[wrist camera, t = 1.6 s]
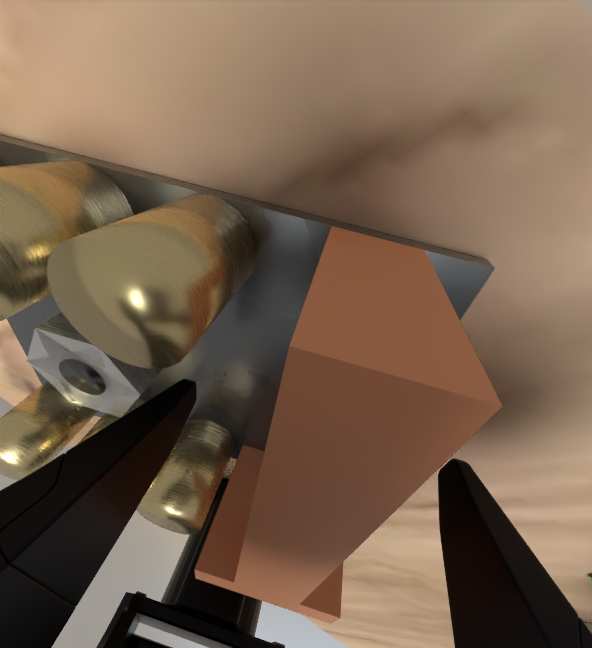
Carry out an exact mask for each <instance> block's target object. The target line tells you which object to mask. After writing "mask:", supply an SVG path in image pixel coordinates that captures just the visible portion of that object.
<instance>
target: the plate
mask: <svg viewBox="0 0 592 648" xmlns="http://www.w3.org/2000/svg"><path fill="white" fill-rule="evenodd" d="M331 226H333V227H337V228H341V229H345V230H349V231H353V232H357V233H361V234H364V235H368V236H372V237H376V238H380V239H384V240H388V241H391V242H395V243H399V244H403V245H407V246H411V247H415V248H419V249H422V250H425V252H426V254H427V256H428V258H429V260H430V262H431V264H432V266H433V268H434V270H435V272H436V274H437V276H438V278H439V280H440V282H441V284H442V286H443V288H444V290H445V292H446V294H447V296H448V298H449V300H450V302H451V304H452V306H453V308H454V310H455V312H456V314H457V316H458V318H459V320H460V319H461V318H462V316H463V315H464V313H465V312H466V310H467V309H468V307H469V306H470V304H471V303H472V301H473V300H474V298H475V297H476V295H477V294H478V293H479V291H480V290H481V288H482V287H483V285H484V284H485V282H486V281H487V279H488V278H489V276H490V275H491V273H492V272H493V270H494V269H495V268H494V267H493V266H492V265H491V264H490V262H489V261H488V260H486V259H482V258H478V257H474V256H470V255H466V254H462V253H459V252H455V251H451V250H447V249H443V248H439V247H435V246H431V245H427V244H424V243H420V242H416V241H412V240H408V239H404V238H400V237H396V236H392V235H389V234H385V233H381V232H377V231H373V230H369V229H365V228H361V227H357V226H354V225H350V224H346V223H342V222H338V221H334V220H330V219H326V218H322V217H318V216H315V215H311V214H307V213H303V212H299V211H295V210H291V209H287V208H283V207H280V206H276V205H272V204H268V203H264V202H260V201H256V200H252V199H248V198H245V197H241V196H237V195H233V194H229V193H225V192H221V191H217V190H213V189H210V188H206V187H202V186H198V185H194V184H190V183H186V182H182V181H178V180H175V179H171V178H167V177H163V176H159V175H155V174H151V173H147V172H143V171H140V170H136V169H132V168H128V167H124V166H120V165H116V164H112V163H108V162H105V161H101V160H97V159H93V158H89V157H85V156H81V155H77V154H73V153H69V152H66V151H62V150H58V149H54V148H50V147H46V146H42V145H38V144H34V143H31V142H27V141H23V140H19V139H15V138H11V137H7V136H3V135H0V321H1V320H4V319H6V318H7V320H8V322H9V324H10V326H11V327H12V329H13V331H14V333H15V335H16V337H17V339H18V341H19V342H20V344H21V346H22V348H23V350H24V352H25V354H26V355H27V357H28V353H29V350H30V346H31V342H32V338H33V334H34V330H35V328H36V327H37V326H39V325H41V324H42V323H44V322H46V321H47V320H49V319H51V318H52V317H54V316H56V315H58V314H59V313H61V312H62V313H63V314H64V316H65V317H66V318H67V320H68V321H69V322H70V323H71V325H72V326H73V327H74V328H75V329H76V330H77V331H78V332H79V333H80V334H81V335H82V336H83V337H84V338H85V339H87V340H88V341H89V342H90V343H92V344H93V345H94V346H96V347H97V348H99V349H100V350H101V351H103V352H105V353H106V354H108V355H110V356H112V357H114V358H116V359H118V360H120V361H122V362H125V363H127V364H130V365H133V366H137V367H141V368H148V369H162V368H163V369H162V370H161V372H160V373H159V374H158V375H157V376H156V377H155V379H154V380H153V381H152V382H151V383H150V385H149V386H148V387H147V388H146V389H145V390H144V392H143V393H142V394H141V395H140V396H139V398H138V399H137V400H136V401H135V402H134V403H133V405H132V406H131V407H130V408H129V409H128V410H127V412H126V413H125V414H124V415H126V414H127V413H129V412H130V411H132V410H134V409H135V408H137V407H138V406H140V405H142V404H143V403H145V402H146V401H148V400H150V399H151V398H153V397H154V396H156V395H158V394H159V393H161V392H162V391H164V390H166V389H167V388H169V387H170V386H172V385H174V384H175V383H177V382H178V381H180V380H182V379H188V380H192V381H195V382H196V390H197V399H196V402H195V405H194V407H193V409H192V411H191V413H190V415H189V417H188V419H187V422H186V424H185V426H184V428H183V430H182V432H181V434H180V436H179V438H178V440H177V442H176V444H175V446H174V448H173V450H172V452H171V453H170V455H169V457H168V458H167V460H166V461H165V463H164V465H163V466H162V468H161V470H160V471H159V473H158V474H157V476H156V478H155V479H154V481H153V483H152V484H151V486H150V487H149V489H148V491H147V492H146V494H145V496H144V497H143V499H142V500H141V502H140V504H139V505H138V507H137V509H136V510H137V511H138V512H139V513H140V514H141V515H142V516H143V517H144V518H146V519H147V520H149V521H150V522H152V523H154V524H156V525H158V526H160V527H162V528H165V529H168V530H171V531H174V532H177V533H182V534H189V535H193V534H198V533H199V532H200V531H201V529H202V526H203V524H204V522H205V519H206V517H207V514H208V512H209V509H210V507H211V504H212V502H213V500H214V497H215V495H216V492H217V490H218V487H219V485H220V483H221V480H222V478H223V475H224V473H225V470H226V468H227V466H228V463H229V461H230V458H234V459H238V457H239V454H240V451H241V449H242V446H243V445H245V446H248V447H252V448H255V449H258V450H261V451H265V448H266V444H267V439H268V435H269V431H270V427H271V422H272V418H273V414H274V409H275V405H276V401H277V397H278V392H279V388H280V384H281V380H282V375H283V371H284V367H285V362H286V358H287V354H288V350H289V345H290V343H291V340H292V337H293V334H294V331H295V328H296V326H297V323H298V320H299V317H300V314H301V311H302V309H303V306H304V303H305V300H306V297H307V294H308V292H309V289H310V286H311V283H312V280H313V277H314V274H315V272H316V269H317V266H318V263H319V260H320V257H321V255H322V252H323V249H324V246H325V243H326V240H327V238H328V235H329V232H330V229H331ZM32 367H33V366H32ZM33 368H34V367H33ZM34 370H35V372H36V374H37V376H38V378H39V380H40V381H41V383H42V386H40V387H39V388H38V389H37V390H35V391H34V392H33V393H31V394H30V395H29V396H28V397H26V398H25V399H24V400H23V401H21V402H20V403H19V404H18V405H16V406H15V407H14V408H12V409H11V410H10V411H9V412H7V413H6V414H5V415H4V416H2V417H1V418H0V474H2V475H4V476H7V477H9V478H12V479H15V480H18V481H19V480H20V479H22V478H24V477H26V476H27V475H29V474H31V473H32V472H34V471H36V470H37V469H39V468H40V467H42V466H44V465H45V464H47V463H49V462H50V461H52V460H53V459H54V458H55V456H57V454H58V453H59V452H60V451H61V450H62V449H63V448H64V447H65V446H66V445H67V444H68V443H69V442H70V441H71V440H72V439H73V438H74V437H75V436H76V434H77V433H78V432H79V431H80V430H81V429H82V428H83V427H84V426H85V425H86V424H87V423H88V422H89V421H90V420H91V419H92V418H93V417H94V416H99V417H102V418H101V419H100V420H99V421H98V422H97V423H96V424H95V426H94V427H93V428H92V429H91V430H90V431H89V432H88V433H87V434H86V435H85V436H84V438H83V439H82V440H81V441H80V442H79V443H81V442H83V441H84V440H86V439H87V438H89V437H90V436H92V435H94V434H95V433H97V432H98V431H100V430H102V429H103V428H105V427H106V426H108V425H110V424H111V423H113V422H114V421H116V420H118V419H119V418H120V417H117V416H114V415H111V414H107V413H104V412H101V411H98V410H94V409H91V408H88V407H85V406H81V405H78V404H75V403H72V402H70V401H69V400H67V399H66V398H65V397H64V396H63V395H62V394H61V393H60V392H59V391H58V390H57V389H56V388H55V387H54V386H53V385H52V384H51V383H50V382H49V381H47V380H46V379H45V378H44V377H43V376H42V375H41V374H40V373H39V372H38V371H37V370H36V369H35V368H34ZM124 415H123V416H124ZM79 443H78V444H79ZM78 444H77V445H78Z"/></svg>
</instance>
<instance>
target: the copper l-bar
mask: <svg viewBox="0 0 592 648" xmlns="http://www.w3.org/2000/svg"><path fill="white" fill-rule="evenodd" d="M501 407H502V404H501V402H500V400H499V398H498V396H497V394H496V392H495V390H494V388H493V386H492V384H491V382H490V380H489V378H488V376H487V374H486V372H485V370H484V368H483V366H482V364H481V362H480V360H479V358H478V356H477V354H476V352H475V350H474V348H473V346H472V344H471V342H470V340H469V338H468V336H467V334H466V332H465V330H464V328H463V326H462V324H461V322H460V320H459V318H458V316H457V314H456V312H455V310H454V308H453V306H452V304H451V302H450V300H449V298H448V296H447V294H446V292H445V290H444V288H443V286H442V284H441V282H440V280H439V278H438V276H437V274H436V272H435V270H434V268H433V266H432V264H431V262H430V260H429V258H428V256H427V254H426V252H425V250H422V249H419V248H415V247H411V246H407V245H403V244H399V243H395V242H391V241H388V240H384V239H380V238H376V237H372V236H368V235H364V234H361V233H357V232H353V231H349V230H345V229H341V228H337V227H333V226H331V229H330V232H329V235H328V238H327V240H326V243H325V246H324V249H323V252H322V255H321V257H320V260H319V263H318V266H317V269H316V272H315V274H314V277H313V280H312V283H311V286H310V289H309V292H308V294H307V297H306V300H305V303H304V306H303V309H302V311H301V314H300V317H299V320H298V323H297V326H296V328H295V331H294V334H293V337H292V340H291V343H290V345H289V350H288V354H287V358H286V362H285V367H284V371H283V375H282V380H281V384H280V388H279V392H278V397H277V401H276V405H275V409H274V414H273V418H272V422H271V427H270V431H269V435H268V439H267V444H266V448H265V451H261V450H258V449H255V448H252V447H248V446H245V445H243V446H242V449H241V451H240V454H239V457H238V459H237V462H236V464H235V467H234V469H233V472H232V475H231V477H230V480H229V482H228V485H227V487H226V490H225V493H224V495H223V498H222V500H221V503H220V505H219V508H218V511H217V513H216V516H215V518H214V521H213V523H212V526H211V529H210V531H209V534H208V536H207V539H206V541H205V544H204V547H203V549H202V552H201V554H200V557H199V559H198V562H197V565H196V567H195V578H196V579H199V580H202V581H205V582H208V583H211V584H214V585H217V586H220V587H223V588H226V589H229V590H232V591H235V592H238V593H241V594H244V595H247V596H250V597H253V598H256V599H259V600H262V601H265V602H268V603H271V604H274V605H276V606H279V607H282V608H285V609H288V610H291V611H294V612H298V613H300V614H303V615H306V616H309V617H312V618H315V619H318V620H321V621H324V622H327V623H330V624H331V623H333V622H334V621H336V620H338V619H340V613H341V594H342V574H343V561H344V560H345V559H346V558H347V557H348V556H349V555H350V554H352V553H353V552H354V551H355V550H356V549H357V548H358V547H359V546H360V545H361V544H362V543H363V542H364V541H365V540H366V539H367V538H368V537H369V536H370V535H371V534H372V533H373V532H374V531H375V530H376V529H377V528H378V527H379V526H380V525H381V524H382V523H383V522H384V521H385V520H386V519H387V518H388V517H389V516H391V515H392V514H393V513H394V512H395V511H396V510H397V509H398V508H399V507H400V506H401V505H402V504H403V503H404V502H405V501H406V500H407V499H408V498H409V497H410V496H411V495H412V494H413V493H414V492H415V491H416V490H417V489H418V488H419V487H420V486H421V485H422V484H423V483H424V482H425V481H426V480H427V479H428V478H430V477H431V476H432V475H433V474H434V473H435V472H436V471H437V470H438V469H439V468H440V467H441V466H442V465H443V464H444V463H445V462H446V461H447V460H448V459H449V458H450V457H451V456H452V455H453V454H454V453H455V452H456V451H457V450H458V449H459V448H460V447H461V446H462V445H463V444H464V443H465V442H466V441H467V440H469V439H470V438H471V437H472V436H473V435H474V434H475V433H476V432H477V431H478V430H479V429H480V428H481V427H482V426H483V425H484V424H485V423H486V422H487V421H488V420H489V419H490V418H491V417H492V416H493V415H494V414H495V413H496V412H497V411H498V410H499V409H500V408H501Z"/></svg>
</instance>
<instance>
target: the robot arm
mask: <svg viewBox="0 0 592 648" xmlns="http://www.w3.org/2000/svg"><path fill="white" fill-rule="evenodd" d="M196 399H197V390H196V382H195V381H192V380H188V379H182V380H180V381H178V382H177V383H175V384H174V385H172V386H170V387H169V388H167V389H166V390H164V391H162V392H161V393H159V394H158V395H156V396H154V397H153V398H151V399H150V400H148V401H146V402H145V403H143V404H142V405H140V406H138V407H137V408H135V409H134V410H132V411H130V412H129V413H127V414H126V415H124V416H122V417H121V418H119V419H118V420H116V421H114V422H113V423H111V424H110V425H108V426H106V427H105V428H103V429H102V430H100V431H98V432H97V433H95V434H94V435H92V436H90V437H89V438H87V439H86V440H84V441H83V442H81V443H79V444H78V445H76V446H75V447H73V448H71V449H70V450H68V451H67V452H66V454H62V455H60V456H58V457H57V458H55V459H54V460H52V461H50V462H49V463H47V464H45V465H44V466H42V467H40V468H39V469H37V470H36V471H34V472H32V473H31V474H29V475H27V476H26V477H24V478H22V479H20V480H19V481H17V482H15V483H13V484H11V485H10V486H8V487H6V488H4V489H2V490H1V491H0V648H51V647H52V645H53V644H54V642H55V640H56V639H57V637H58V636H59V634H60V632H61V631H62V629H63V627H64V626H65V624H66V623H67V621H68V619H69V618H70V616H71V614H72V613H73V611H74V610H75V606H77V605H78V603H79V601H80V599H81V598H82V596H83V595H84V593H85V591H86V590H87V588H88V586H89V585H90V583H91V582H92V580H93V578H94V577H95V575H96V574H97V572H98V570H99V569H100V567H101V565H102V564H103V562H104V561H105V559H106V557H107V556H108V554H109V552H110V551H111V549H112V548H113V546H114V544H115V543H116V541H117V539H118V538H119V536H120V535H121V533H122V531H123V530H124V527H125V526H126V525H127V523H128V522H129V520H130V518H131V517H132V515H133V513H134V512H135V510H136V509H137V507H138V505H139V504H140V502H141V500H142V499H143V497H144V496H145V494H146V492H147V491H148V489H149V487H150V486H151V484H152V483H153V481H154V479H155V478H156V476H157V474H158V473H159V471H160V470H161V468H162V466H163V465H164V463H165V461H166V460H167V458H168V457H169V455H170V453H171V452H172V450H173V448H174V446H175V444H176V442H177V440H178V438H179V436H180V434H181V432H182V430H183V428H184V426H185V424H186V422H187V419H188V417H189V415H190V413H191V411H192V409H193V407H194V405H195V402H196ZM227 485H228V482H225V481H222V480H221V483H220V485H219V487H218V490H217V492H216V495H215V497H214V500H213V502H212V504H211V507H210V509H209V512H208V514H207V517H206V519H205V522H204V524H203V526H202V529H201V531H200V532H199V533H198V534H193V535H190V536H189V538H188V540H187V543H186V545H185V547H184V549H183V552H182V554H181V556H180V559H179V561H178V564H177V566H176V568H175V570H174V573H173V575H172V577H171V579H170V582H169V584H168V586H167V589H166V591H165V593H164V596H163V598H162V600H161V602H158V601H155V600H152V599H150V598H147V597H146V594H144V593H141V592H138V591H137V592H136V594H132V593H128V592H126V593H125V596H124V597H123V599H122V601H121V603H120V605H119V607H118V609H117V611H116V613H115V615H114V617H113V619H112V620H111V623H110V624H109V626H108V628H107V630H106V632H105V634H104V635H103V637H102V639H101V641H100V643H99V644H98V646H97V648H172V647H169V646H166V645H163V644H160V643H158V642H155V641H153V640H150V639H147V638H144V637H141V636H138V635H136V634H134V632H135V630H136V628H137V626H138V623H139V622H141V623H143V624H146V625H149V626H152V627H155V628H157V629H160V630H162V631H165V632H168V633H171V634H174V635H176V636H179V637H182V638H184V639H188V640H190V641H193V642H196V643H198V644H201V645H204V646H207V647H209V648H285V645H283V644H280V643H277V642H272V643H270V642H267V641H264V640H261V639H259V638H256V637H254V636H255V631H256V627H257V622H258V618H259V613H260V609H261V603H262V600H259V599H256V598H253V597H250V596H247V595H244V594H241V593H238V592H235V591H232V590H229V589H226V588H223V587H220V586H217V585H214V584H211V583H208V582H205V581H202V580H199V579H196V578H195V567H196V565H197V562H198V559H199V557H200V554H201V552H202V549H203V547H204V544H205V541H206V539H207V536H208V534H209V531H210V529H211V526H212V523H213V521H214V518H215V516H216V513H217V511H218V508H219V505H220V503H221V500H222V498H223V495H224V493H225V490H226V487H227ZM438 493H439V524H440V535H441V544H442V551H443V559H444V567H445V574H446V582H447V590H448V597H449V605H450V613H451V620H452V628H453V636H454V643H455V648H592V633H591V632H590V630H589V629H588V628H587V626H586V625H585V623H584V622H583V621H582V619H581V618H579V617H578V614H577V613H576V611H575V610H574V608H573V607H572V606H571V604H570V603H569V602H568V600H567V599H566V597H565V596H564V595H563V593H562V592H561V590H560V589H559V588H558V586H557V585H556V584H555V582H554V581H553V579H552V578H551V577H550V575H549V574H548V573H547V571H546V570H545V568H544V567H543V566H542V564H541V563H540V562H539V560H538V559H537V557H536V556H535V555H534V553H533V552H532V551H531V549H530V548H529V546H528V545H527V544H526V542H525V541H524V539H523V538H522V537H521V535H520V534H519V533H518V531H517V530H516V528H515V527H514V526H513V524H512V523H511V522H510V520H509V519H508V517H507V516H506V515H505V513H504V512H503V511H502V509H501V508H500V506H499V505H498V504H497V502H496V501H495V500H494V498H493V497H492V495H491V494H490V493H489V491H488V490H487V488H486V487H485V486H484V484H483V483H482V482H481V480H480V479H479V477H478V476H477V475H476V473H475V472H474V471H473V469H472V468H471V466H470V465H469V464H468V463H467V462H465V461H462V460H458V459H451V460H450V461H449V462H448V463H447V464H446V465H445V466H444V467H443V468H441V470H440V471H439V474H438Z"/></svg>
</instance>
